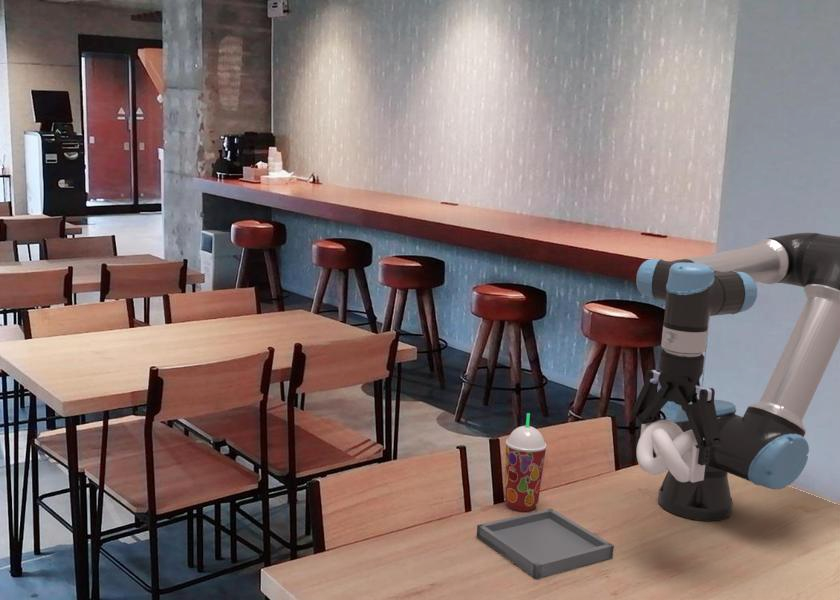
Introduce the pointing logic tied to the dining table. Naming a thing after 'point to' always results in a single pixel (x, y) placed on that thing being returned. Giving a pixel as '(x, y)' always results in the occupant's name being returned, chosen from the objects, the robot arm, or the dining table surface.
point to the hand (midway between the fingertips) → (669, 468)
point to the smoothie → (524, 467)
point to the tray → (544, 543)
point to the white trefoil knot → (666, 450)
